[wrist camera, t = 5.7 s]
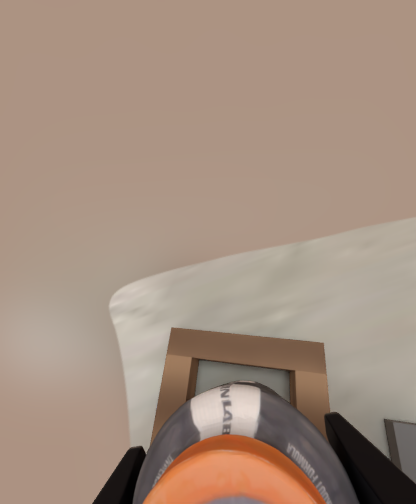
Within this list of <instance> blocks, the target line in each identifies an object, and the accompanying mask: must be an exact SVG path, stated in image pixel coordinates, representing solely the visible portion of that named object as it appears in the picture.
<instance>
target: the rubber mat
mask: <svg viewBox="0 0 416 504" xmlns="http://www.w3.org/2000/svg"><path fill="white" fill-rule="evenodd" d="M384 420H385V426H386V432H387V437H388V443H389V449H390V454H391V460H392V462H393V463H394V464H395V465H396V466H397V467H398V468H399V469H400V470H402V471H403V472H404V473H405V474H406V475H407V476H408V477H409V478H410V479H411V480H413V481H414V482H415V483H416V424H413V423H407V422H400V421H394V420H387V419H384Z"/></svg>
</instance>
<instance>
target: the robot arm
mask: <svg viewBox="0 0 416 504" xmlns="http://www.w3.org/2000/svg"><path fill="white" fill-rule="evenodd" d="M324 421H325V429H326V435H327V438H328V441H329V444H330V445H331V447H332V448H333V450H334V451H335V453H336V455H337V456H338V458H339V460H340V461H341V463H342V465H343V467H344V469H345V470H346V472H347V474H348V477H349V479H350V481H351V483H352V486H353V488H354V491H355V493H356V496H357V499H358V501H359V504H416V483H415V482H414V481H413V480H411V479H410V478H409V477H408V476H407V475H406V474H405V473H404V472H403V471H402V470H400V469H399V468H398V467H397V466H396V465H395V464H394V463H393V462H392V461H391V460H389V459H388V458H387V457H386V456H385V455H384V454H383V453H382V452H381V451H380V450H378V449H377V448H376V447H375V446H374V445H373V444H372V443H371V442H370V441H369V440H368V439H366V438H365V437H364V436H363V435H362V434H361V433H360V432H359V431H358V430H357V429H355V428H354V427H353V426H352V425H351V424H350V423H349V422H348V421H347V420H346V419H344V418H343V417H342V416H341V415H340V414H339V413H337V412H332V413H326V414H325V415H324ZM145 457H146V453H145V451H144V449H143V447H142V446H136V447H131V448H130V449H129V450H128V451H127V452H126V454H125V455H124V457H123V458H122V460H121V461H120V463H119V464H118V466H117V467H116V469H115V470H114V472H113V473H112V475H111V476H110V478H109V479H108V481H107V482H106V484H105V485H104V487H103V488H102V490H101V491H100V493H99V494H98V496H97V497H96V499H95V500H94V502H93V503H92V504H132V503H133V497H134V492H135V488H136V483H137V480H138V477H139V473H140V470H141V467H142V464H143V462H144V459H145Z"/></svg>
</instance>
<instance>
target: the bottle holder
mask: <svg viewBox="0 0 416 504" xmlns="http://www.w3.org/2000/svg"><path fill="white" fill-rule="evenodd" d="M199 360H207V361H215V362H223V363H231V364H238V365H246V366H254V367H262V368H270V369H278V370H286V371H289V372H290V404H291V405H292V406H293V407H295V408H296V409H297V410H299V411H300V412H301V413H302V414H303V415H304V416H306V417H307V418H308V419H309V420H310V421H311V422H312V423H313V424H314V425H315V426H316V427H317V429H318V430H319V431H320V432H321V433H322V434H323V436H324V437H325V438H326V440H327V441H328V438H327V435H326V429H325V421H324V415H325V414H326V413H330V406H329V395H328V385H327V374H326V363H325V352H324V343H319V342H309V341H300V340H290V339H280V338H270V337H260V336H250V335H241V334H231V333H221V332H211V331H201V330H191V329H182V328H171V333H170V339H169V344H168V350H167V355H166V361H165V366H164V372H163V377H162V383H161V388H160V394H159V399H158V405H157V410H156V416H155V421H154V427H153V432H152V437H151V443H150V446H151V444H152V442H153V440H154V438H155V437H156V435H157V433H158V432H159V430H160V429H161V427H162V426H163V425H164V423H165V422H166V421H167V420H168V418H169V417H170V416H171V415H172V414H173V413H174V412H175V411H176V410H177V409H178V408H179V407H180V406H182V405H183V404H184V403H185V402H187V401H188V400H190V399H192V398H194V396H195V388H196V380H197V372H198V364H199ZM328 442H329V441H328Z"/></svg>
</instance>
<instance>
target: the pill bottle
mask: <svg viewBox="0 0 416 504" xmlns="http://www.w3.org/2000/svg"><path fill="white" fill-rule="evenodd" d="M132 504H359V501H358V499H357V496H356V493H355V491H354V488H353V486H352V483H351V481H350V479H349V477H348V474H347V472H346V470H345V469H344V467H343V465H342V463H341V461H340V460H339V458H338V456H337V455H336V453H335V451H334V450H333V448H332V447H331V445H330V444H329V442H328V441H327V440H326V438H325V437H324V436H323V434H322V433H321V432H320V431H319V430H318V429H317V427H316V426H315V425H314V424H313V423H312V422H311V421H310V420H309V419H308V418H307V417H306V416H304V415H303V414H302V413H301V412H300V411H299V410H297V409H296V408H295V407H293V406H292V405H291V404H290V403H288V402H287V401H286V400H285V399H283V398H282V397H281V396H279V395H278V394H277V393H276V392H275V391H273V390H272V389H270V388H268V387H267V386H264V385H262V384H260V383H257V382H252V381H234V382H230V383H227V384H224V385H220V386H218V387H215V388H212V389H210V390H208V391H206V392H203V393H201V394H199V395H197V396H195V397H194V398H192V399H190V400H188V401H187V402H185V403H184V404H183V405H182V406H180V407H179V408H178V409H177V410H176V411H175V412H174V413H173V414H172V415H171V416H170V417H169V418H168V420H167V421H166V422H165V423H164V425H163V426H162V427H161V429H160V430H159V432H158V433H157V435H156V437H155V438H154V440H153V442H152V444H151V446H150V448H149V450H148V452H147V454H146V457H145V459H144V462H143V464H142V467H141V470H140V473H139V477H138V480H137V483H136V488H135V492H134V497H133V503H132Z"/></svg>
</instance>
